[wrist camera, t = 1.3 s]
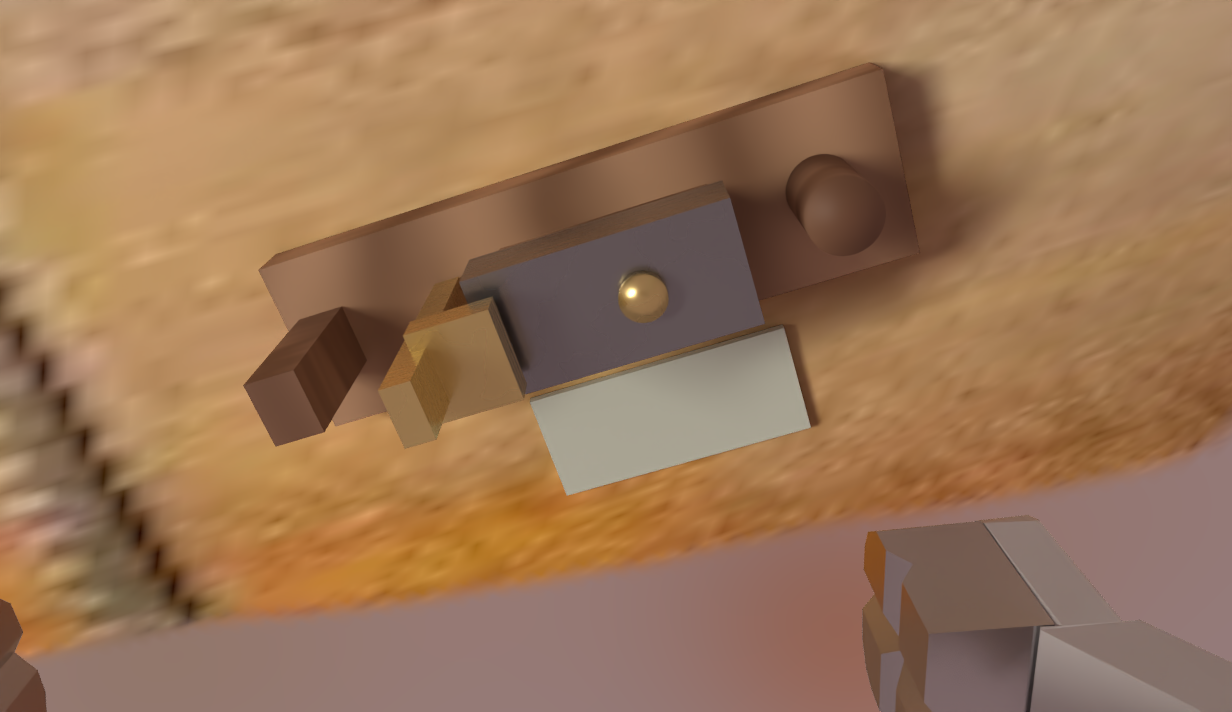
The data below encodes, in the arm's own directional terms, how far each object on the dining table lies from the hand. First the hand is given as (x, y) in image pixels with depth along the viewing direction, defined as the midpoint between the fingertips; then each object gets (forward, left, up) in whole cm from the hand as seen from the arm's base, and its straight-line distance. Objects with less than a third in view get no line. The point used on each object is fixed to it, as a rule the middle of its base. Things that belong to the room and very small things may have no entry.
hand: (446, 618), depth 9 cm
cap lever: (+5, +5, -27) cm, 28 cm away
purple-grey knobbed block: (0, +5, -24) cm, 24 cm away
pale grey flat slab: (0, +13, -29) cm, 32 cm away
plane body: (+1, +5, -29) cm, 29 cm away
